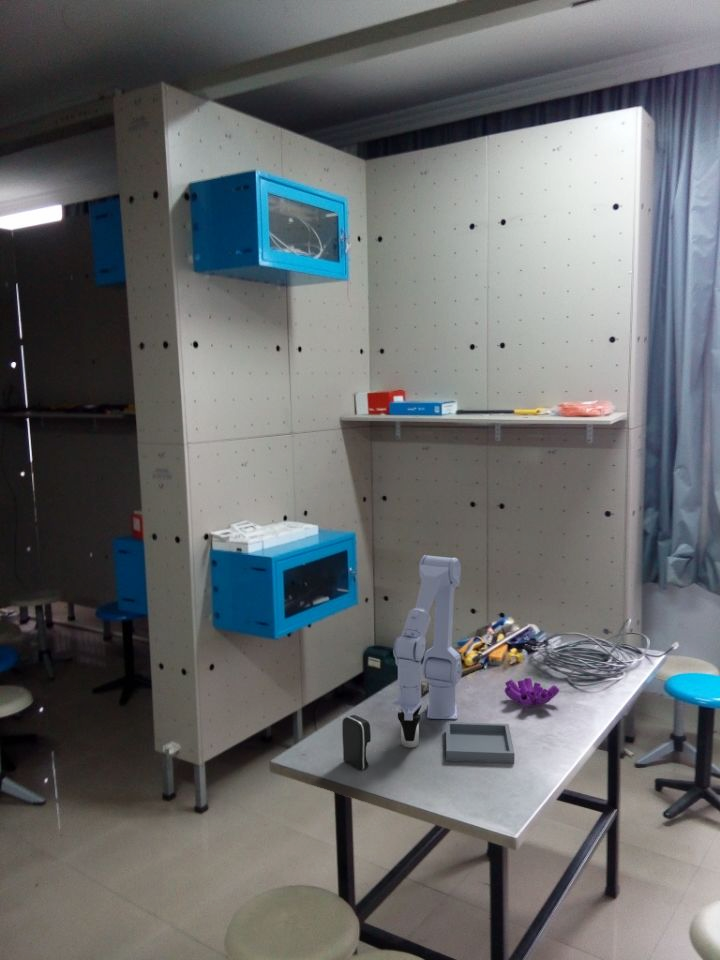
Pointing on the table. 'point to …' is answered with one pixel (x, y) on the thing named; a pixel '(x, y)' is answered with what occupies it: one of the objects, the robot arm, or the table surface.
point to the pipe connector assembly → (529, 692)
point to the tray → (479, 742)
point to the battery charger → (355, 741)
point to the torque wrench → (426, 685)
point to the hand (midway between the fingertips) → (410, 735)
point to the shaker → (410, 743)
